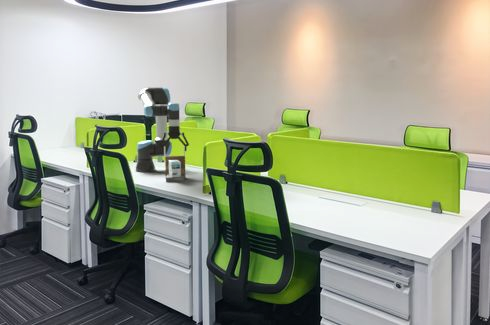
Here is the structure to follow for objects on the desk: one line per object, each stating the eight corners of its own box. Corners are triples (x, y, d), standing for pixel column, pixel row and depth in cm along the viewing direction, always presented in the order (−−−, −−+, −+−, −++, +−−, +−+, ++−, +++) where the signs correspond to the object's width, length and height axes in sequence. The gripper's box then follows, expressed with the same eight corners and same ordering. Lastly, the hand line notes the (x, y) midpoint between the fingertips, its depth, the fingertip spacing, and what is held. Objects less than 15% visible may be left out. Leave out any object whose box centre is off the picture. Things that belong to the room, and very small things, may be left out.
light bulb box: (181, 176, 305) (180, 161, 303) (171, 177, 302) (171, 162, 301) (177, 174, 315) (177, 159, 313) (168, 174, 312) (168, 159, 310)
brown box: (165, 177, 317) (165, 155, 314) (185, 177, 318) (185, 155, 316) (164, 181, 302) (164, 159, 300) (184, 181, 304) (184, 158, 301)
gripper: (155, 126, 298) (156, 156, 302) (192, 126, 301) (192, 156, 305) (156, 125, 305) (157, 155, 309) (192, 125, 308) (192, 154, 312)
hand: (174, 155), depth 307 cm, fingers open, 13 cm apart
